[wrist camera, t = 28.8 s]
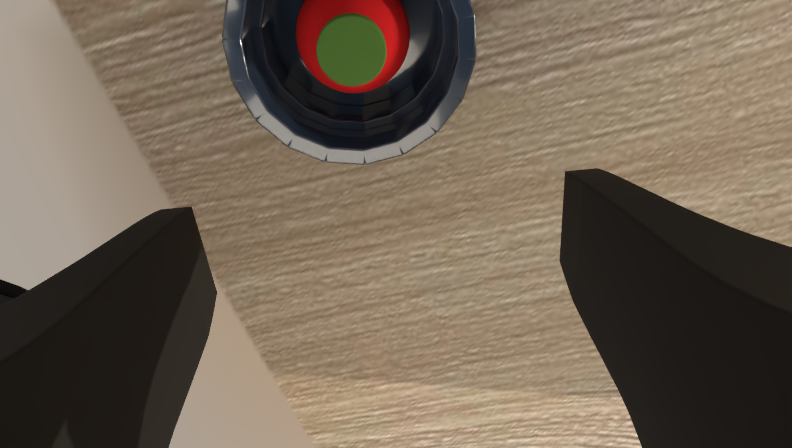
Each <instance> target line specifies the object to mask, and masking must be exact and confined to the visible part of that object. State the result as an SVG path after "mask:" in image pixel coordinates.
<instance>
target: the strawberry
mask: <svg viewBox="0 0 792 448" xmlns="http://www.w3.org/2000/svg"><path fill="white" fill-rule="evenodd" d="M296 40H297V46H298V50H299V53H300V55H301V58H302V60H303V62H304V64H305V65H306V67H307V68H308V70H309V71H310V72H311V74H312V75H313V76H314V77H315V78H316V79H318V80H319V81H320V82H321V83H323V84H324V85H326V86H328V87H330V88H332V89H334V90H337V91H341V92H345V93H363V92H368V91H371V90H374V89H376V88H379V87H381V86H382V85H384V84H385V83H387V82H388V81H389V80H390V79H391V78H392V77H393V76H394V75H395V74H396V73H397V72H398V70H399V69H400V68H401V66H402V64H403V62H404V60H405V58H406V55H407V52H408V48H409V42H410V28H409V21H408V18H407V14H406V12H405V9H404V7H403V5H402V4H401V2H400V0H305V1H304V3H303V5H302V7H301V9H300V12H299V15H298V19H297V25H296Z"/></svg>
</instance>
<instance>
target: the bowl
mask: <svg viewBox="0 0 792 448" xmlns="http://www.w3.org/2000/svg"><path fill="white" fill-rule="evenodd" d="M304 1H305V0H226V7H225V16H224V24H223V32H222V38H223V39H222V42H223V46H224V51H225V55H226V59H227V64H228V68H229V73H230V77H231V81H232V82H233V85H234V87H235V88H236V90H237V92H238V93H239V95H240V97H241V98H242V100H243V101H244V103H245V105H246V106H247V108H248V109H249V111H250V113H251V114H252V116H253V118H254V119H256V121H257V122H258V123H259V124H261V125H262V126H263V127H264V128H265V129H267V130H268V131H269V132H270V133H271V134H273V135H274V136H275V137H276V138H277V139H279V140H280V141H281V142H282V143H283V144H284V145H286V146H288V147H289V148H291V149H294V150H296V151H299V152H301V153H304V154H306V155H309V156H311V157H314V158H316V159H319V160H321V161H326V162H330V163H345V164H360V165H364V164H370V163H374V162H378V161H382V160H386V159H390V158H393V157H397V156H401V155H403V154H406V153H407V152H409V151H410V150H412V149H413V148H415V147H416V146H418V145H419V144H421V143H423V142H424V141H426V140H427V139H429V138H430V137H432V136H433V135H435V134H436V133H437V132H438V131H439V130H440V129H441V128H442V126H443V125H444V124H445V122H446V121H447V120H448V119H449V117H450V116H451V115H452V113H453V112H454V111H455V109H456V108H457V107H458V106H459V104H460V103H461V102H462V99H463V98H464V95H465V92H466V89H467V86H468V83H469V80H470V77H471V74H472V71H473V68H474V65H475V62H476V16H475V11H474V8H473V6H472V3H471V0H400V2H401V4H402V5H403V7H404V9H405V12H406V14H407V18H408V21H409V28H410V42H409V48H408V52H407V55H406V58H405V60H404V62H403V64H402V66H401V68H400V69H399V70H398V72H397V73H396V74H395V75H394V76H393V77H392V78H391V79H390V80H389V81H388V82H387V83H385V84H384V85H382V86H381V87H379V88H376V89H374V90H371V91H368V92H363V93H345V92H341V91H337V90H334V89H332V88H330V87H328V86H326V85H324V84H323V83H321V82H320V81H319V80H318V79H316V78H315V77H314V76H313V75H312V74H311V72H310V71H309V70H308V68H307V67H306V65H305V64H304V62H303V60H302V58H301V55H300V53H299V50H298V46H297V40H296V25H297V19H298V15H299V12H300V9H301V7H302V5H303V3H304Z"/></svg>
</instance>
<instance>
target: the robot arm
mask: <svg viewBox="0 0 792 448" xmlns="http://www.w3.org/2000/svg"><path fill="white" fill-rule="evenodd" d="M560 263H561V266H562V270H563V273H564V276H565V279H566V282H567V285H568V288H569V291H570V294H571V297H572V299H573V302H574V304H575V306H576V308H577V310H578V312H579V314H580V316H581V318H582V320H583V322H584V324H585V326H586V328H587V330H588V332H589V334H590V336H591V338H592V340H593V342H594V344H595V346H596V348H597V350H598V352H599V353H600V355H601V357H602V359H603V361H604V363H605V365H606V367H607V369H608V371H609V373H610V375H611V377H612V379H613V381H614V382H615V384H616V386H617V388H618V390H619V392H620V394H621V396H622V399H623V401H624V403H625V405H626V407H627V410H628V412H629V414H630V417H631V419H632V422H633V425H634V427H635V430H636V432H637V435H638V438H639V440H640V443H641V446H642V448H792V247H788V246H785V245H782V244H779V243H776V242H773V241H770V240H767V239H764V238H760V237H757V236H754V235H751V234H748V233H746V232H743V231H740V230H737V229H735V228H732V227H729V226H727V225H724V224H722V223H720V222H717V221H715V220H712V219H710V218H707V217H705V216H702V215H700V214H698V213H695V212H693V211H691V210H688V209H686V208H684V207H682V206H679V205H677V204H675V203H673V202H671V201H669V200H667V199H664V198H662V197H660V196H658V195H656V194H654V193H652V192H650V191H648V190H646V189H644V188H641V187H639V186H637V185H635V184H633V183H631V182H629V181H627V180H625V179H623V178H620V177H618V176H616V175H614V174H611V173H609V172H606V171H604V170H601V169H586V170H576V171H565V183H564V199H563V216H562V232H561V248H560ZM216 295H217V291H216V287H215V284H214V281H213V277H212V274H211V270H210V267H209V264H208V260H207V257H206V254H205V250H204V247H203V244H202V240H201V237H200V233H199V230H198V227H197V223H196V220H195V217H194V213H193V210H192V207H183V208H173V209H162V210H159V211H157V212H154V213H152V214H150V215H149V216H147V217H145V218H143V219H142V220H140V221H138V222H137V223H135V224H133V225H132V226H130V227H129V228H127V229H126V230H124V231H123V232H121V233H120V234H118V235H117V236H115V237H113V238H112V239H110V240H109V241H107V242H106V243H104V244H103V245H101V246H100V247H98V248H97V249H95V250H94V251H92V252H91V253H89V254H88V255H86V256H85V257H83V258H81V259H80V260H78V261H77V262H75V263H73V264H72V265H70V266H69V267H67V268H65V269H64V270H62V271H60V272H59V273H57V274H55V275H54V276H52V277H50V278H49V279H47V280H45V281H44V282H42V283H40V284H39V285H37V286H35V287H34V288H32V289H31V290H29V291H27V292H25V293H23V294H21V295H20V296H18V297H16V298H14V299H12V300H10V301H9V302H7V303H5V304H3V305H1V306H0V448H168V447H169V444H170V441H171V438H172V435H173V432H174V429H175V426H176V423H177V421H178V418H179V416H180V413H181V410H182V407H183V405H184V402H185V399H186V396H187V394H188V391H189V388H190V386H191V383H192V380H193V377H194V375H195V372H196V370H197V367H198V364H199V361H200V358H201V356H202V353H203V350H204V347H205V344H206V341H207V339H208V336H209V331H210V327H211V322H212V317H213V312H214V307H215V300H216Z"/></svg>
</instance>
